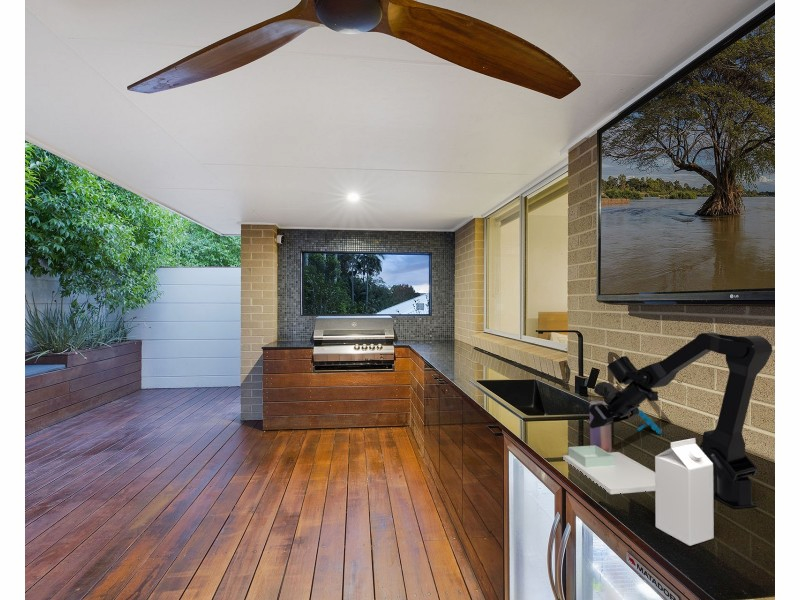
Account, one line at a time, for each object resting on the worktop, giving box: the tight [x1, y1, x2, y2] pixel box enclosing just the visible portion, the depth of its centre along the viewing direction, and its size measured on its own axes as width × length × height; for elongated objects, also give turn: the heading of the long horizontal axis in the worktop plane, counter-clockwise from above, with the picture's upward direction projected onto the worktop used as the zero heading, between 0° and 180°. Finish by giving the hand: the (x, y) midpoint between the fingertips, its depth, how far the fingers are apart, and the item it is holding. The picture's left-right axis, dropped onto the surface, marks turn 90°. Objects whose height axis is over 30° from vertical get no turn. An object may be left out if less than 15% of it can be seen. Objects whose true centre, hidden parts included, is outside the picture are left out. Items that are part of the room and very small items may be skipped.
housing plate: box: [562, 445, 655, 495], centre depth 113 cm, size 22×18×4 cm
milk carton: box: [654, 437, 715, 547], centre depth 84 cm, size 7×7×19 cm
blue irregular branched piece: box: [637, 409, 663, 435], centre depth 147 cm, size 11×6×10 cm
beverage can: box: [589, 400, 612, 453], centre depth 129 cm, size 6×6×15 cm
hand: (596, 425), depth 130 cm, fingers closed on beverage can, 6 cm apart
